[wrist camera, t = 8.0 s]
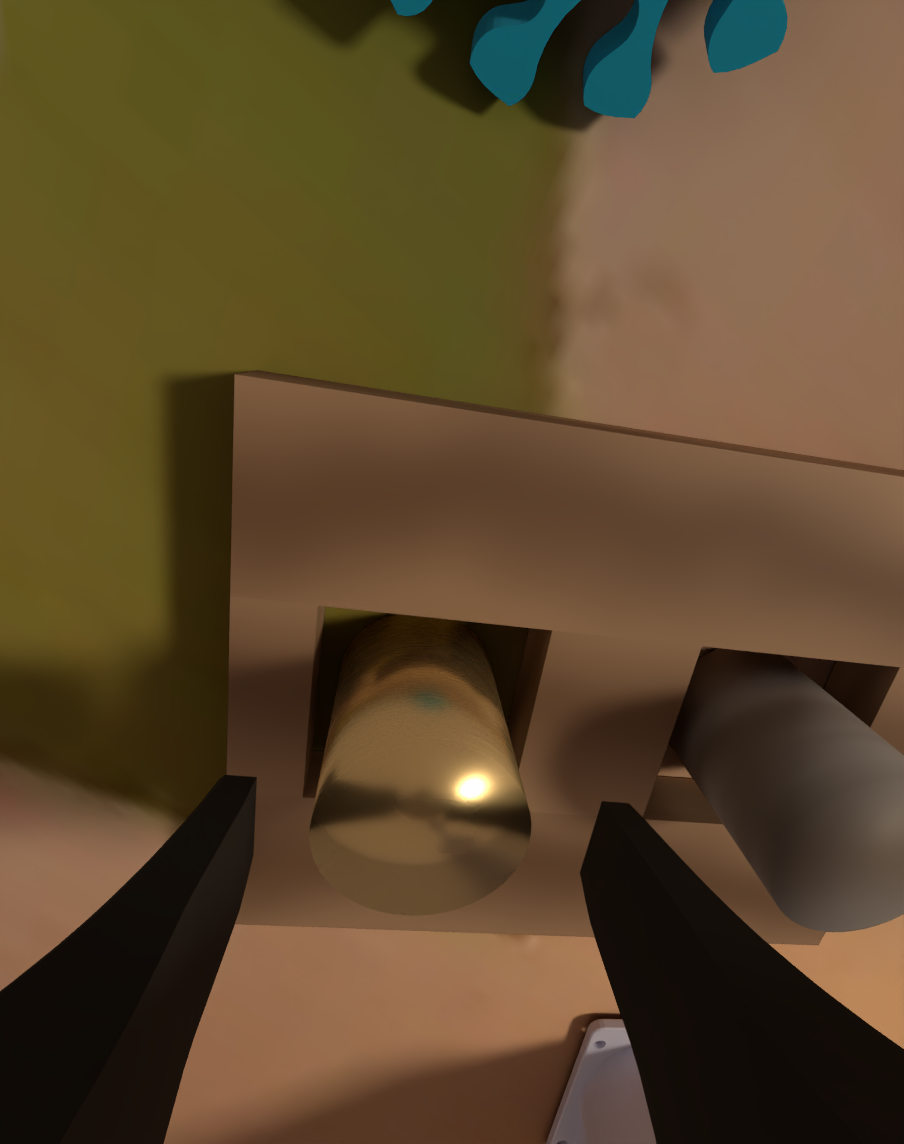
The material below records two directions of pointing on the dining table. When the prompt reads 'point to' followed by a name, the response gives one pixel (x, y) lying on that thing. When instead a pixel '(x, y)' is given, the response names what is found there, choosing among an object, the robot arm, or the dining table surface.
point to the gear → (610, 46)
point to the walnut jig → (584, 644)
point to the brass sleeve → (418, 773)
